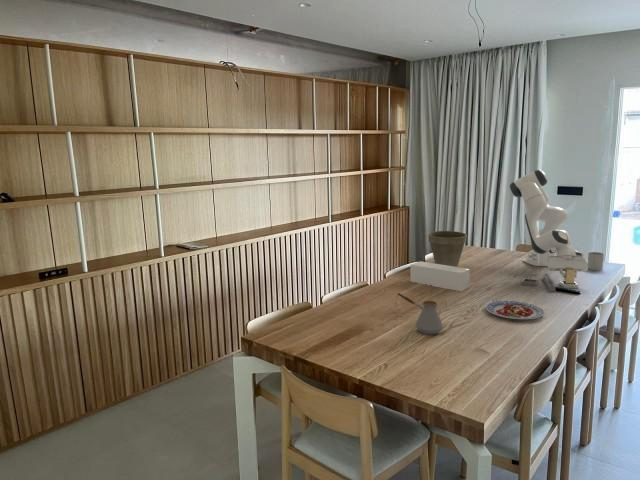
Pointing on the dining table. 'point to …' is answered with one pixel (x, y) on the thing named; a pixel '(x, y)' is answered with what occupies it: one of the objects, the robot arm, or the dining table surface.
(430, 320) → the coffee pot
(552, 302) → the dining table surface
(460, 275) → the white rectangular block
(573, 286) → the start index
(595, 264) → the cup
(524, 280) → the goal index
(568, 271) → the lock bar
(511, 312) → the ceramic plate
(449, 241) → the plant pot
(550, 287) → the long grey bar
